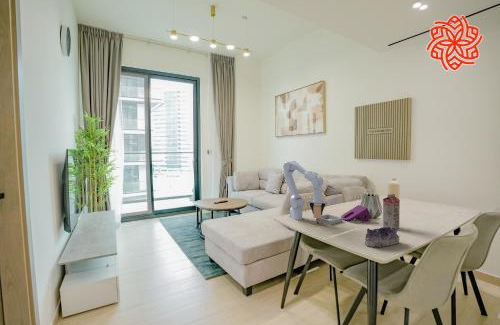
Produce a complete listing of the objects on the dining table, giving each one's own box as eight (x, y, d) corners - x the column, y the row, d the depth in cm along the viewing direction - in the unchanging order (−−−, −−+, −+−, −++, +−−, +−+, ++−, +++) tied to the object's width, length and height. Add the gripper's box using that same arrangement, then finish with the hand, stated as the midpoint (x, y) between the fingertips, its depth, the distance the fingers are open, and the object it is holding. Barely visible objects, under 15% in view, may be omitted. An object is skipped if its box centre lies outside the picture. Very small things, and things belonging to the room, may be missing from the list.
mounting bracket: (350, 231, 166) (372, 218, 168) (346, 221, 165) (367, 208, 167) (343, 227, 175) (363, 214, 178) (338, 217, 174) (358, 204, 177)
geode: (378, 252, 120) (376, 232, 120) (360, 246, 130) (357, 228, 131) (404, 243, 128) (402, 224, 128) (385, 238, 138) (382, 221, 139)
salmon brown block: (313, 217, 161) (313, 206, 161) (314, 215, 166) (314, 204, 165) (321, 218, 159) (321, 206, 159) (321, 216, 164) (321, 204, 164)
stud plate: (308, 224, 165) (308, 218, 164) (317, 222, 169) (317, 216, 169) (317, 227, 157) (317, 221, 157) (327, 225, 161) (327, 219, 161)
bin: (316, 221, 171) (316, 216, 171) (327, 218, 177) (327, 213, 177) (330, 226, 160) (330, 221, 160) (342, 223, 166) (342, 218, 165)
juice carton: (382, 226, 156) (383, 193, 155) (389, 225, 159) (390, 193, 157) (392, 229, 150) (392, 195, 149) (399, 228, 153) (399, 194, 151)
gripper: (328, 194, 163) (328, 213, 164) (307, 193, 168) (307, 211, 169) (328, 196, 156) (328, 216, 157) (306, 195, 161) (306, 214, 162)
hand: (317, 214), depth 163 cm, fingers closed on salmon brown block, 5 cm apart
